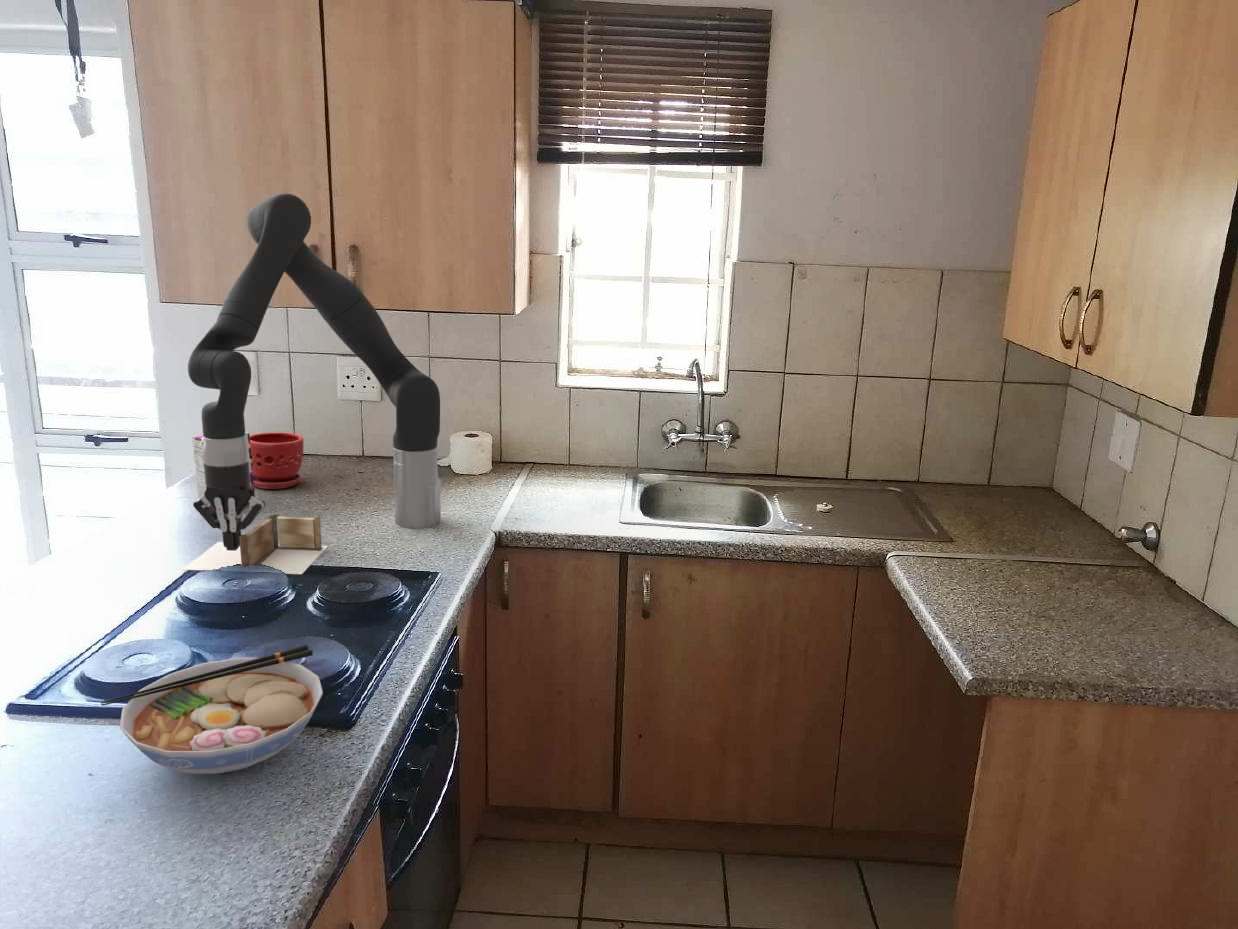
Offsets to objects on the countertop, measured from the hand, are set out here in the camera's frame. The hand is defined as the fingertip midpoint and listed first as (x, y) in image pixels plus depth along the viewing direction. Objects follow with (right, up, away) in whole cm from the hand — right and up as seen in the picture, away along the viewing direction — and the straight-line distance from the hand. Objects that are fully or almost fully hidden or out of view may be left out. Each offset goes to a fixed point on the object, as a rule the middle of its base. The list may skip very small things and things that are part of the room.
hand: (232, 549), depth 170 cm
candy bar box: (-17, +6, +37) cm, 41 cm away
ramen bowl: (+24, -20, -57) cm, 65 cm away
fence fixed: (+8, -1, +11) cm, 13 cm away
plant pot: (-12, +11, +53) cm, 56 cm away
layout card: (+3, -2, +5) cm, 6 cm away
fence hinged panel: (+3, -2, +4) cm, 5 cm away
